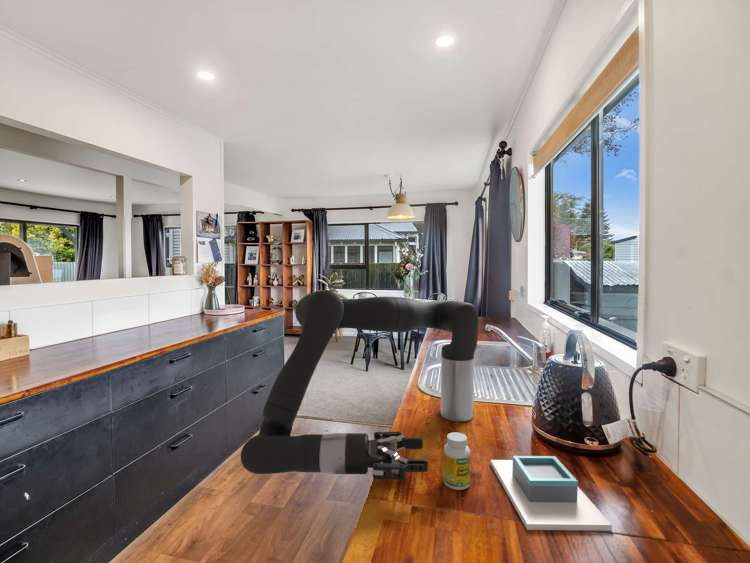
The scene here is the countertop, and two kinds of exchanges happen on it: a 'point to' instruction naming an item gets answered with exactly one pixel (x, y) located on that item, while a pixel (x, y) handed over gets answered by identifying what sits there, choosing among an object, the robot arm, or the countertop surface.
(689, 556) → the countertop surface
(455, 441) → the supplement bottle
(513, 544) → the countertop surface
